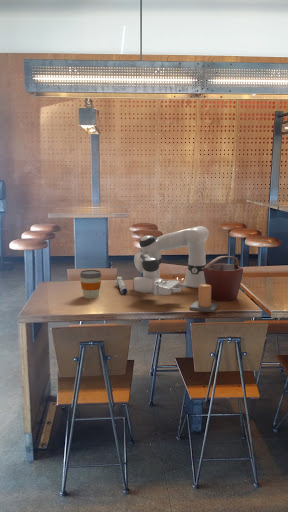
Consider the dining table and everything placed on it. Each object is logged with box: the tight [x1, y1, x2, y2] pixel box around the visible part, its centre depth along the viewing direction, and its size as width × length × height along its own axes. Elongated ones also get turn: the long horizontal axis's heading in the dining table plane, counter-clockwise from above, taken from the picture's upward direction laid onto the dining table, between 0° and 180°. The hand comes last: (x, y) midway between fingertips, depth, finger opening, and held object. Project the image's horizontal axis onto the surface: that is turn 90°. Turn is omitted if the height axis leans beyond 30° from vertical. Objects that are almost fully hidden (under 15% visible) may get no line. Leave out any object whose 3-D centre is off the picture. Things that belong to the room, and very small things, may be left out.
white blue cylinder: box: [115, 276, 128, 295], centre depth 288 cm, size 5×7×25 cm
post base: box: [189, 300, 220, 313], centre depth 246 cm, size 13×13×8 cm
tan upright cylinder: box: [197, 284, 212, 307], centre depth 245 cm, size 7×7×11 cm
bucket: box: [204, 255, 244, 302], centre depth 266 cm, size 24×22×25 cm
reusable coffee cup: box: [79, 269, 102, 299], centre depth 269 cm, size 13×13×15 cm
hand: (183, 288), depth 249 cm, fingers open, 8 cm apart
